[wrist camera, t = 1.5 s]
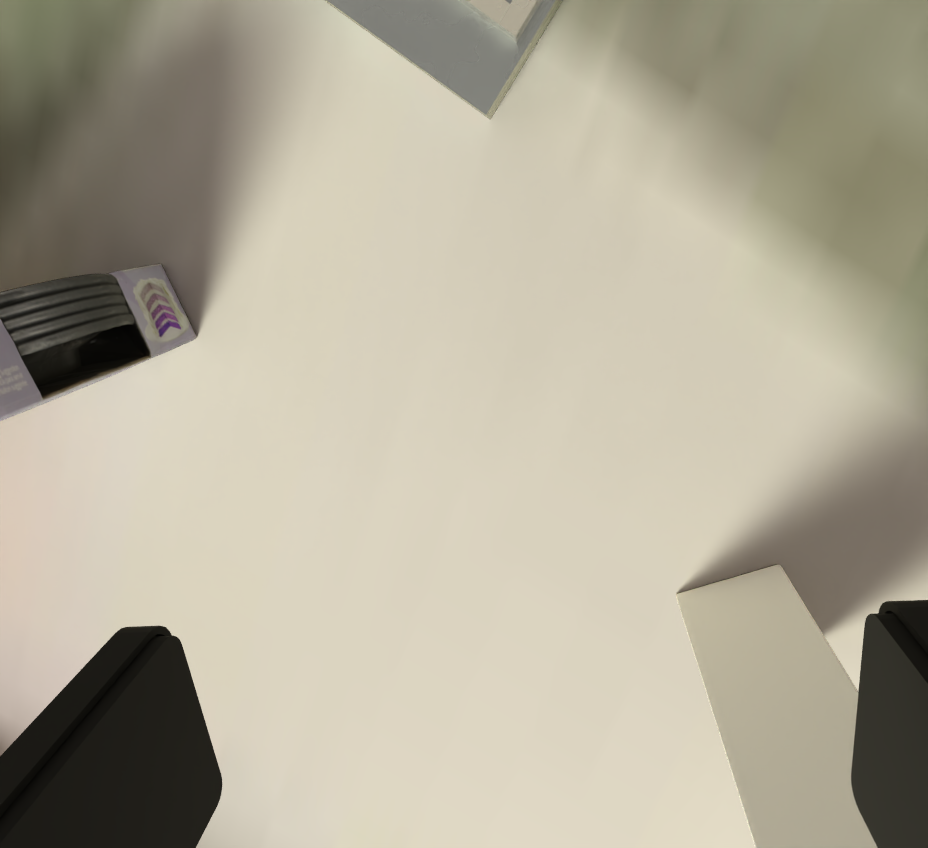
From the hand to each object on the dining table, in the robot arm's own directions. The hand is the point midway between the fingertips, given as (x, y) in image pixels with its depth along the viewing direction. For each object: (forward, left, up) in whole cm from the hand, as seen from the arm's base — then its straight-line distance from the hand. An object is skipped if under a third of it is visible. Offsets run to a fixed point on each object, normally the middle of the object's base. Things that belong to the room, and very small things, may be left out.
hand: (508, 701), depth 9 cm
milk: (+7, +20, -27) cm, 35 cm away
